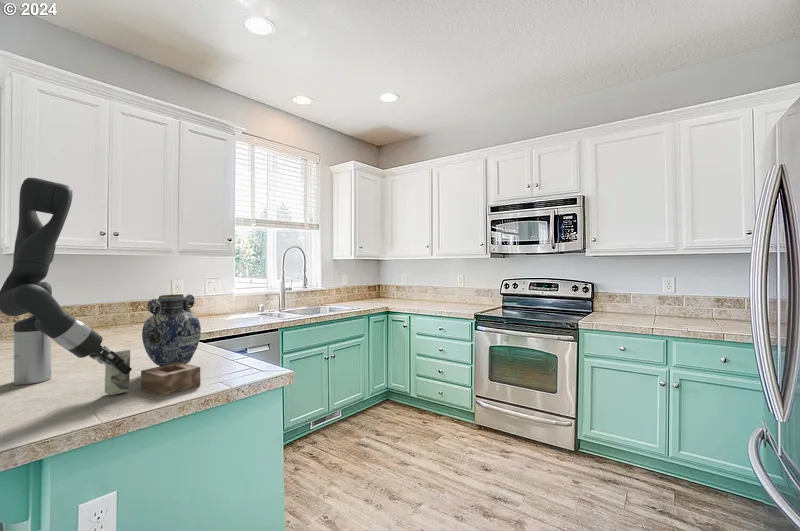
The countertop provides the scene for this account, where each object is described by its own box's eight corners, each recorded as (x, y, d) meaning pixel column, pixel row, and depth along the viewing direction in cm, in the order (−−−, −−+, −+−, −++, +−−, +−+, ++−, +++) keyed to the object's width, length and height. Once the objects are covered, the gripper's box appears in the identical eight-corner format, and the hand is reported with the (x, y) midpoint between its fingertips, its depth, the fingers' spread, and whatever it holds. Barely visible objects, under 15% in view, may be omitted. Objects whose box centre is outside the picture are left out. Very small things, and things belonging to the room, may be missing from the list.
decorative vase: (172, 380, 133) (171, 297, 133) (126, 378, 137) (124, 297, 137) (214, 365, 154) (213, 292, 154) (173, 363, 157) (172, 292, 157)
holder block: (162, 396, 118) (162, 376, 118) (141, 389, 124) (140, 370, 124) (200, 385, 128) (200, 367, 128) (178, 379, 134) (178, 362, 134)
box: (110, 395, 117) (111, 352, 117) (104, 393, 119) (104, 350, 119) (130, 391, 122) (131, 349, 121) (123, 388, 124) (124, 347, 124)
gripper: (100, 329, 110) (146, 363, 121) (77, 325, 118) (122, 357, 128) (77, 352, 106) (127, 385, 116) (55, 346, 113) (103, 377, 124)
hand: (124, 370), depth 122 cm, fingers closed on box, 4 cm apart
